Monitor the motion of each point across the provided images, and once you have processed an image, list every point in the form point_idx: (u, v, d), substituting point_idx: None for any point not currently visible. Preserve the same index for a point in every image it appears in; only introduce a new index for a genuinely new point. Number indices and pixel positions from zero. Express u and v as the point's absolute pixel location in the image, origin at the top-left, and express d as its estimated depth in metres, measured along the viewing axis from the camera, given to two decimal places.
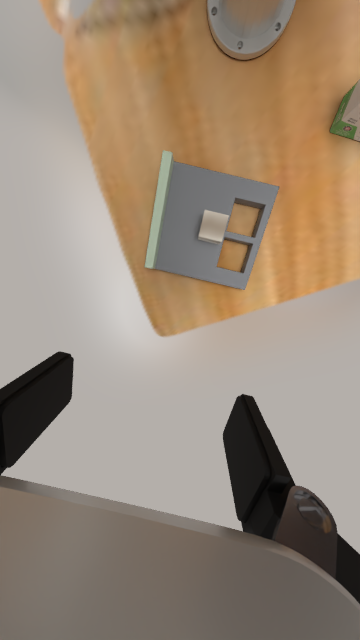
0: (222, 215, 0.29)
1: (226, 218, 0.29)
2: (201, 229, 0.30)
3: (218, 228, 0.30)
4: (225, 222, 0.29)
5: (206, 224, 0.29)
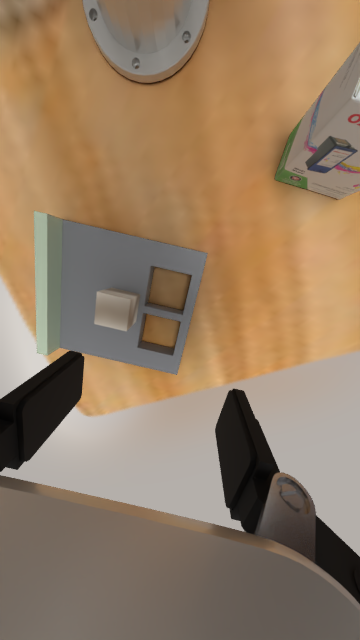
0: (122, 299, 0.21)
1: (128, 303, 0.21)
2: (96, 315, 0.21)
3: (119, 315, 0.21)
4: (127, 308, 0.21)
5: (102, 309, 0.21)
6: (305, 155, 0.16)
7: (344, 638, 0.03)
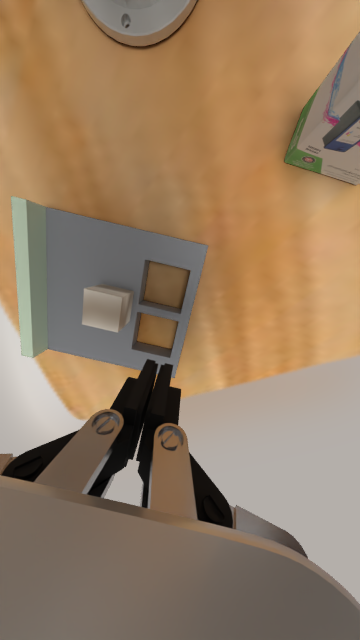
0: (112, 297, 0.18)
1: (119, 301, 0.19)
2: (84, 315, 0.19)
3: (109, 315, 0.19)
4: (118, 306, 0.19)
5: (90, 308, 0.19)
6: (323, 129, 0.14)
7: (344, 638, 0.03)
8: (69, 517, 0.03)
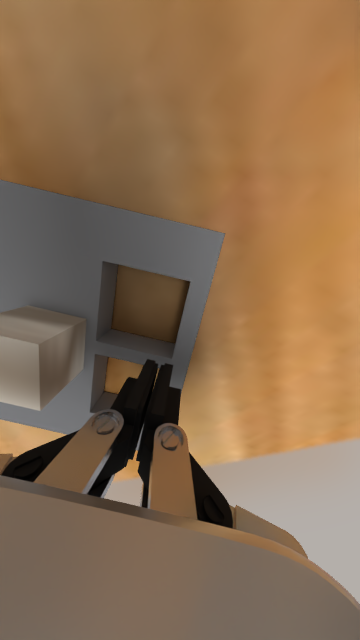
0: (17, 343, 0.08)
1: (33, 352, 0.08)
2: None
3: (18, 379, 0.09)
4: (33, 363, 0.09)
5: None
6: None
7: (344, 638, 0.03)
8: (69, 517, 0.03)
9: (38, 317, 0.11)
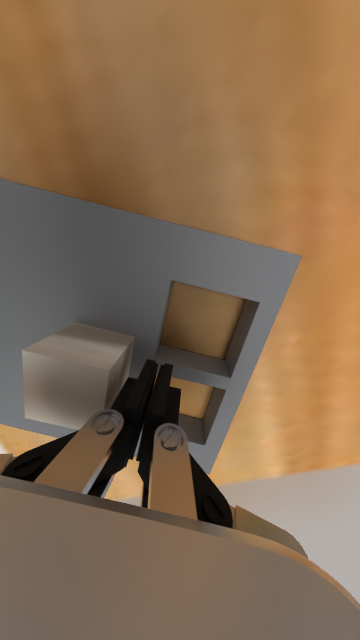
0: (87, 369, 0.08)
1: (102, 378, 0.08)
2: (28, 402, 0.09)
3: (82, 403, 0.09)
4: (101, 388, 0.08)
5: (40, 390, 0.09)
6: None
7: (344, 638, 0.03)
8: (69, 517, 0.03)
9: (92, 336, 0.11)
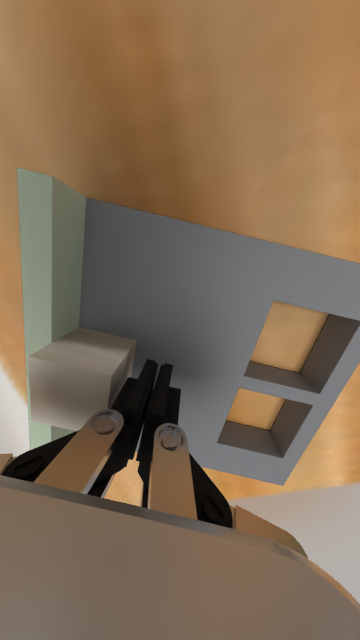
0: (90, 374, 0.08)
1: (105, 382, 0.09)
2: (34, 405, 0.09)
3: (86, 407, 0.09)
4: (104, 393, 0.09)
5: (46, 394, 0.09)
6: None
7: (344, 638, 0.03)
8: (69, 517, 0.03)
9: (95, 341, 0.11)
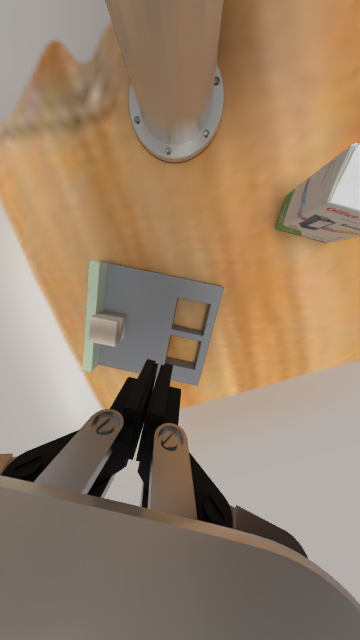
0: (110, 321, 0.26)
1: (115, 324, 0.26)
2: (90, 335, 0.27)
3: (108, 334, 0.27)
4: (114, 328, 0.26)
5: (95, 330, 0.27)
6: (298, 220, 0.22)
7: (344, 638, 0.03)
8: (69, 517, 0.03)
9: (110, 314, 0.29)
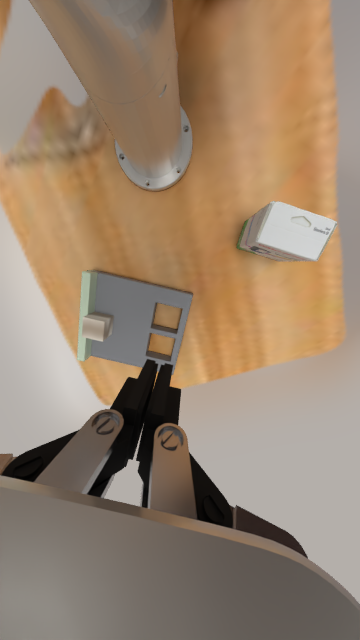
0: (99, 321, 0.33)
1: (103, 324, 0.33)
2: (83, 331, 0.33)
3: (97, 331, 0.33)
4: (102, 327, 0.33)
5: (86, 328, 0.33)
6: (247, 246, 0.28)
7: (344, 638, 0.03)
8: (69, 517, 0.03)
9: (99, 315, 0.35)
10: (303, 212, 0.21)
